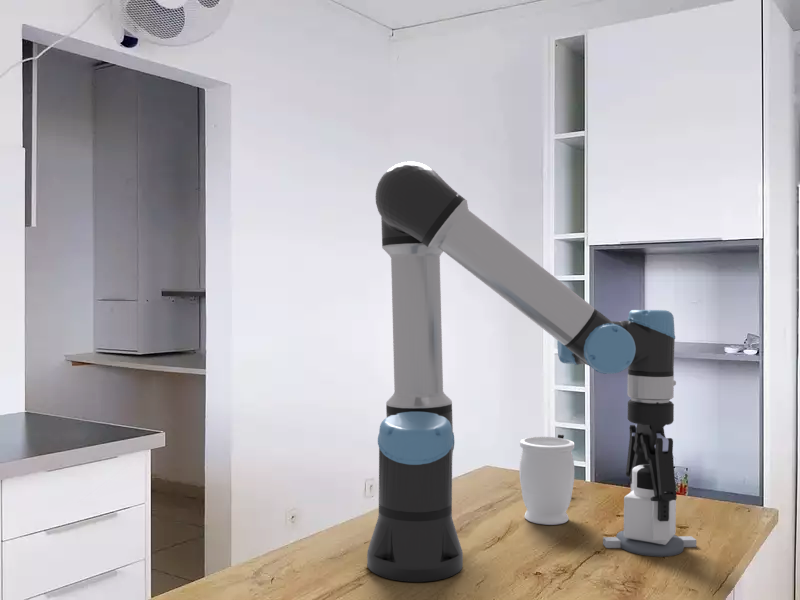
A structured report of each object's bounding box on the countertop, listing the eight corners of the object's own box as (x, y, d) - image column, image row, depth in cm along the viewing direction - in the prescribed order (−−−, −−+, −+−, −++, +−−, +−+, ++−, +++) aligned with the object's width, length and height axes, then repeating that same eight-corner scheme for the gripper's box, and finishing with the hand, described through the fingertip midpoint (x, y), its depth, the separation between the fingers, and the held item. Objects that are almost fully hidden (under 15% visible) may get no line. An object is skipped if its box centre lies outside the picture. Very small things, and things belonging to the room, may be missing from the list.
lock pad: (615, 557, 127) (615, 549, 127) (591, 532, 140) (591, 525, 140) (708, 555, 127) (708, 548, 127) (675, 531, 141) (675, 524, 141)
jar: (574, 529, 142) (575, 447, 141) (517, 525, 144) (518, 445, 143) (573, 513, 152) (574, 437, 152) (520, 509, 154) (521, 434, 154)
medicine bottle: (675, 534, 134) (676, 465, 134) (666, 545, 128) (667, 473, 128) (634, 527, 137) (635, 460, 137) (623, 538, 131) (623, 467, 131)
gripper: (700, 409, 121) (698, 551, 122) (648, 391, 144) (647, 511, 144) (653, 409, 121) (651, 551, 121) (608, 391, 143) (607, 511, 143)
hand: (649, 529), depth 133 cm, fingers closed on medicine bottle, 10 cm apart
